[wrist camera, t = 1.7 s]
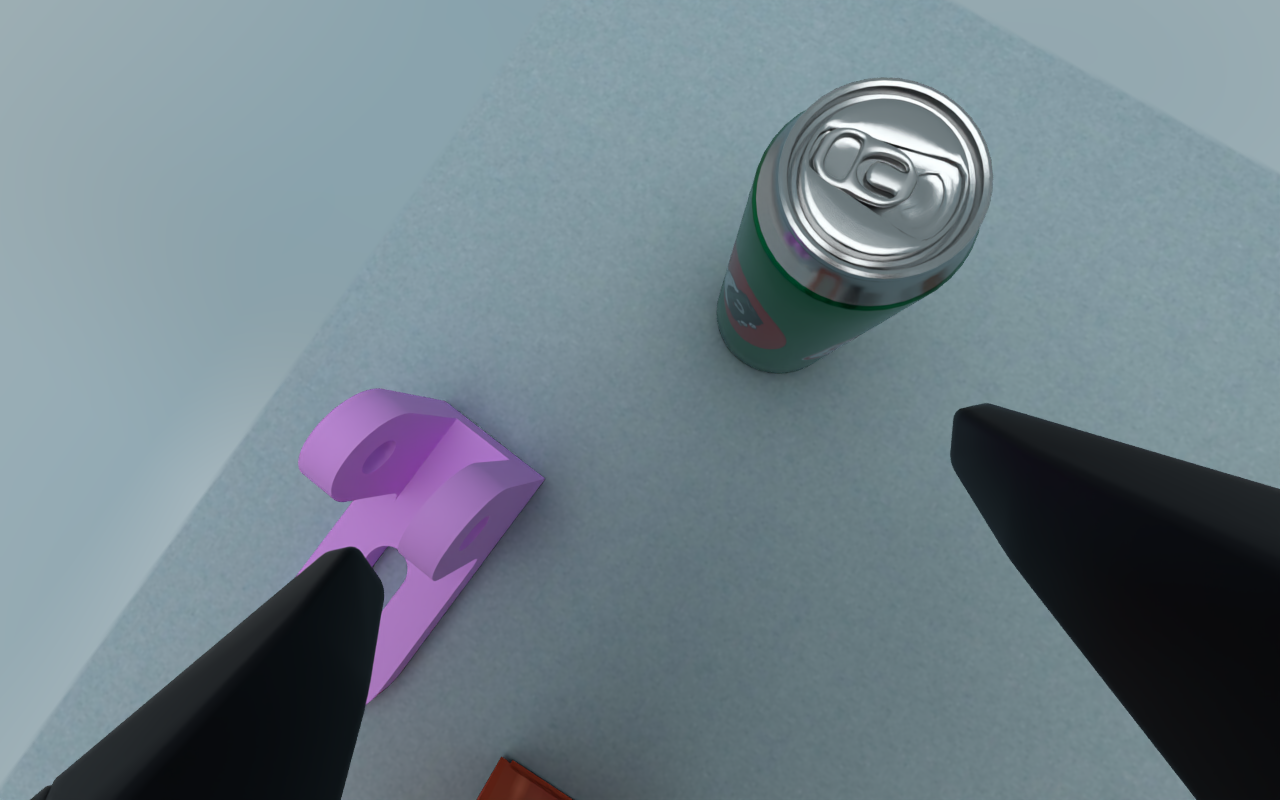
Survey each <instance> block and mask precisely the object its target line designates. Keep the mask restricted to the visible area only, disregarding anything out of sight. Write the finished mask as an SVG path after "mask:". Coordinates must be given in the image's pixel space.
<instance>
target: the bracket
mask: <svg viewBox="0 0 1280 800" xmlns="http://www.w3.org/2000/svg"><path fill="white" fill-rule="evenodd" d="M298 466H299V469H300V471H301V472H302V473H303V474H304V475H305V476H306V477H307V478H309V479H310V480H311V481H312V482H314V483H315V484H316V485H317V486H318V487H320V488H321V489H322V490H323V491H324V492H326V493H327V494H328V495H329V496H331V497H332V498H333V499H334V500H336V501H338V502H346V501H352V500H353V502H352V503H351V504H350V506H349V507H348V508H347V510H346V511H345V512H344V514H343V515H342V516H341V518H340V519H339V520H338V521H337V523H336V524H335V525H334V527H333V528H332V529H331V531H330V532H329V533H328V535H327V536H326V537H325V539H324V540H323V541H322V543H321V544H320V545H319V547H318V548H317V549H316V550H315V552H314V553H313V554H312V556H311V557H310V558H309V560H308V561H307V562H306V564H305V565H304V566H303V568H302V569H301V570H300V572H299V573H298V574H297V576H298V575H299V574H300V573H301V572H302V571H304V570H305V569H306V568H307V567H308V566H309V565H311V564H312V563H313V562H314V561H315V560H317V559H318V558H319V557H320V556H321V555H323V554H324V553H326V552H328V551H331V550H336V549H340V548H344V547H349V546H352V547H356V548H358V549H359V550H360V551H361V552H362V553H363V555H364V556H365V558H366V559H367V561H368V562H369V564H370V565H371V567H373V565H374V564H375V563H376V561H377V560H378V559H379V557H380V556H381V555H382V553H383V552H384V551H385V549H386V548H387V547H388V546H391V547H394V548H396V549H398V552H399V553H400V554H401V555H402V556H404V557H405V559H406V562H407V567H408V571H407V576H406V579H405V581H404V583H403V584H402V585H401V587H400V588H399V589H398V591H397V592H396V593H395V595H394V596H393V597H392V599H391V600H390V601H389V603H388V604H387V605H386V607H385V608H384V609H383V611H382V614H381V620H380V626H379V632H378V639H377V645H376V651H375V657H374V663H373V670H372V676H371V682H370V687H369V692H368V697H367V701H366V704H368V703H369V702H370V701H371V700H372V699H374V698H375V697H376V696H377V695H378V694H380V693H381V692H382V691H383V690H384V689H386V688H387V687H388V686H389V685H390V684H391V683H392V682H393V681H394V680H395V679H396V678H397V677H398V675H399V674H400V673H401V671H402V670H403V669H404V667H405V666H406V665H407V663H408V662H409V661H410V659H411V658H412V657H413V655H414V654H415V653H416V651H417V650H418V649H419V647H420V646H421V645H422V643H423V642H424V641H425V639H426V638H427V637H428V635H429V634H430V633H431V631H432V630H433V628H434V627H435V626H436V624H437V623H438V622H439V620H440V619H441V618H442V616H443V615H444V614H445V612H446V611H447V610H448V608H449V607H450V606H451V604H452V603H453V602H454V600H455V599H456V598H457V596H458V595H459V594H460V592H461V591H462V590H463V588H464V587H465V586H466V584H467V583H468V582H469V580H470V579H471V578H472V576H473V575H474V574H475V572H476V571H477V570H478V568H479V567H480V565H481V564H482V563H483V561H484V560H485V559H486V557H487V556H488V555H489V553H490V552H491V551H492V549H493V548H494V547H495V545H496V544H497V543H498V541H499V540H500V539H501V537H502V536H503V535H504V533H505V532H506V531H507V529H508V528H509V527H510V525H511V524H512V523H513V521H514V520H515V519H516V517H517V516H518V515H519V513H520V512H521V511H522V509H523V508H524V507H525V505H526V504H527V502H528V501H529V500H530V498H531V497H532V496H533V494H534V493H535V492H536V490H537V489H538V488H539V486H540V485H541V484H542V482H543V481H544V480H545V478H544V477H542V476H541V475H540V474H538V473H537V472H536V471H535V470H533V469H532V468H531V467H529V466H528V465H527V464H526V463H524V462H523V461H522V460H520V459H519V458H518V457H517V456H515V455H514V454H513V453H511V452H510V451H509V450H508V449H506V448H505V447H504V446H502V445H501V444H500V443H498V442H497V441H496V440H495V439H493V438H492V437H491V436H489V435H488V434H487V433H486V432H484V431H483V430H482V429H480V428H479V427H478V426H477V425H475V424H474V423H473V422H471V421H470V420H469V419H467V418H466V417H465V416H464V415H462V414H461V413H460V412H458V411H457V410H456V409H455V408H453V407H452V406H451V405H449V404H448V403H447V402H446V401H442V400H437V399H431V398H426V397H421V396H416V395H411V394H406V393H401V392H396V391H390V390H385V389H370V390H366V391H364V392H361V393H359V394H356V395H354V396H353V397H351V398H349V399H347V400H346V401H344V402H343V403H341V404H340V405H339V406H337V407H336V408H335V409H333V410H332V411H331V412H330V413H329V414H328V415H327V416H326V417H325V418H324V419H323V420H322V421H321V422H320V423H319V424H318V425H317V426H316V427H315V429H314V430H313V431H312V432H311V434H310V435H309V437H308V438H307V440H306V442H305V443H304V445H303V447H302V450H301V452H300V455H299V461H298Z"/></svg>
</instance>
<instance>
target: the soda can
mask: <svg viewBox="0 0 1280 800" xmlns="http://www.w3.org/2000/svg"><path fill="white" fill-rule="evenodd" d="M992 187H993V171H992V162H991V157H990V154H989V150H988V147H987V144H986V142H985V140H984V138H983V136H982V134H981V131H980V130H979V128H978V127H977V125H976V124H975V122H974V121H973V120H972V118H971V117H970V116H969V115H968V114H967V113H966V112H965V111H964V109H963V108H962V107H961V106H960V105H958V104H957V103H956V102H955V101H953V100H952V99H951V98H949V97H948V96H947V95H945V94H943V93H941V92H939V91H937V90H936V89H934V88H932V87H929V86H927V85H924V84H921V83H918V82H915V81H910V80H905V79H900V78H872V79H864V80H860V81H856V82H852V83H849V84H846V85H844V86H841V87H839V88H836V89H834V90H833V91H831V92H829V93H828V94H826V95H824V96H823V97H821V98H820V99H818V100H817V101H816V102H815V103H814V104H812V105H811V106H810V107H809V108H808V109H806V110H805V111H803V112H801V113H800V114H798V115H797V116H796V117H794V118H793V119H792V120H791V121H790V122H788V123H787V124H786V125H785V126H784V127H783V128H782V129H781V130H780V131H779V132H778V134H777V135H776V136H775V137H774V138H773V140H772V141H771V143H770V144H769V146H768V147H767V149H766V150H765V152H764V154H763V156H762V158H761V161H760V163H759V165H758V168H757V171H756V174H755V177H754V181H753V184H752V187H751V191H750V194H749V197H748V201H747V204H746V208H745V211H744V214H743V218H742V221H741V224H740V228H739V231H738V234H737V238H736V241H735V244H734V248H733V251H732V254H731V258H730V261H729V264H728V268H727V271H726V275H725V278H724V281H723V285H722V288H721V291H720V295H719V299H718V303H717V322H718V326H719V331H720V333H721V335H722V338H723V340H724V342H725V343H726V345H727V347H728V348H729V349H730V350H731V351H732V353H733V354H734V355H735V356H736V357H738V358H739V359H740V360H741V361H742V362H744V363H746V364H747V365H749V366H751V367H753V368H756V369H758V370H761V371H765V372H771V373H788V372H793V371H797V370H800V369H803V368H805V367H807V366H809V365H811V364H813V363H814V362H816V361H818V360H819V359H821V358H823V357H824V356H826V355H828V354H830V353H831V352H833V351H835V350H836V349H838V348H840V347H841V346H843V345H845V344H846V343H848V342H850V341H851V340H853V339H855V338H856V337H858V336H860V335H862V334H863V333H865V332H867V331H868V330H870V329H872V328H873V327H875V326H877V325H878V324H880V323H882V322H883V321H885V320H887V319H888V318H890V317H892V316H894V315H895V314H897V313H899V312H900V311H902V310H904V309H905V308H907V307H909V306H910V305H912V304H914V303H915V302H917V301H919V300H920V299H922V298H924V297H926V296H927V295H929V294H931V293H932V292H934V291H936V290H937V289H938V288H939V287H941V286H942V285H943V284H944V283H946V282H947V281H948V280H949V279H950V278H951V277H952V276H953V275H954V274H955V273H956V272H957V270H958V269H959V268H960V267H961V266H962V265H963V263H964V261H965V260H966V258H967V257H968V255H969V253H970V252H971V250H972V248H973V245H974V243H975V241H976V238H977V236H978V233H979V228H980V226H981V224H982V222H983V220H984V218H985V215H986V213H987V210H988V208H989V204H990V199H991V195H992Z"/></svg>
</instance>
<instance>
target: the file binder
mask: <svg viewBox="0 0 1280 800" xmlns="http://www.w3.org/2000/svg"><path fill="white" fill-rule="evenodd" d="M477 800H573V799H571V798H570V797H568V796H567V795H565V794H564V793H562V792H561V791H559V790H558V789H556V788H555V787H553V786H551V785H550V784H548V783H547V782H545V781H544V780H542V779H541V778H539V777H538V776H536V775H535V774H533V773H532V772H530V771H529V770H527V769H526V768H524V767H523V766H521V765H520V764H518V763H516V762H515V761H513V760H512V762H511V763H509V762H508V761H507V760H506V759H504V758H503V757H501V758H500V760H499V762H498V763H497V765H496V767H495V769H494V770H493V772H492V774H491V775H490V777H489V779H488V781H487V782H486V784H485V786H484V788H483V789H482V791H481V793H480V795H479V796H478V798H477Z"/></svg>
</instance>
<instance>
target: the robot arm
mask: <svg viewBox="0 0 1280 800" xmlns="http://www.w3.org/2000/svg"><path fill="white" fill-rule="evenodd" d="M950 457H951V463H952V466H953V468H954V471H955V472H956V474H957V476H958V477H959V479H960V481H961V482H962V484H963V485H964V487H965V489H966V490H967V492H968V493H969V495H970V497H971V498H972V500H973V502H974V503H975V505H976V506H977V508H978V510H979V511H980V513H981V514H982V516H983V518H984V519H985V521H986V523H987V524H988V526H989V527H990V529H991V531H992V532H993V534H994V535H995V537H996V539H997V540H998V542H999V544H1000V545H1001V547H1002V548H1003V550H1004V551H1005V553H1006V554H1007V556H1008V557H1009V559H1010V560H1011V562H1012V563H1013V564H1014V566H1015V567H1016V568H1017V570H1018V571H1019V572H1020V574H1021V575H1022V576H1023V578H1024V579H1025V580H1026V581H1027V583H1028V584H1029V585H1030V587H1031V588H1032V589H1033V590H1034V592H1035V593H1036V594H1037V596H1038V597H1039V598H1040V599H1041V601H1042V602H1043V603H1044V605H1045V606H1046V607H1047V608H1048V610H1049V611H1050V612H1051V614H1052V615H1053V616H1054V617H1055V619H1056V620H1057V621H1058V623H1059V624H1060V625H1061V626H1062V628H1063V629H1064V630H1065V631H1066V633H1067V634H1068V635H1069V637H1070V638H1071V639H1072V640H1073V642H1074V643H1075V644H1076V646H1077V647H1078V648H1079V649H1080V651H1081V652H1082V653H1083V655H1084V656H1085V657H1086V658H1087V660H1088V661H1089V662H1090V664H1091V665H1092V666H1093V667H1094V669H1095V670H1096V671H1097V673H1098V674H1099V675H1100V676H1101V678H1102V679H1103V680H1104V682H1105V683H1106V684H1107V685H1108V687H1109V688H1110V689H1111V691H1112V692H1113V693H1114V694H1115V696H1116V697H1117V698H1118V700H1119V701H1120V702H1121V703H1122V705H1123V706H1124V707H1125V709H1126V710H1127V711H1128V712H1129V714H1130V715H1131V716H1132V717H1133V719H1134V720H1135V721H1136V723H1137V724H1138V725H1139V726H1140V728H1141V729H1142V730H1143V732H1144V733H1145V734H1146V735H1147V737H1148V738H1149V739H1150V741H1151V742H1152V743H1153V744H1154V746H1155V747H1156V748H1157V750H1158V751H1159V752H1160V753H1161V755H1162V756H1163V757H1164V759H1165V760H1166V761H1167V762H1168V764H1169V765H1170V766H1171V768H1172V769H1173V770H1174V771H1175V773H1176V774H1177V775H1178V777H1179V778H1180V779H1181V780H1182V782H1183V783H1184V784H1185V786H1186V787H1187V788H1188V789H1189V791H1190V792H1191V793H1192V795H1193V796H1194V797H1195V798H1196V800H1280V489H1278V488H1274V487H1271V486H1268V485H1264V484H1261V483H1257V482H1254V481H1251V480H1247V479H1244V478H1240V477H1237V476H1234V475H1230V474H1227V473H1223V472H1220V471H1217V470H1213V469H1210V468H1206V467H1203V466H1200V465H1196V464H1193V463H1190V462H1186V461H1183V460H1179V459H1176V458H1173V457H1169V456H1166V455H1162V454H1159V453H1156V452H1152V451H1149V450H1145V449H1142V448H1139V447H1135V446H1132V445H1128V444H1125V443H1122V442H1118V441H1115V440H1111V439H1108V438H1105V437H1101V436H1098V435H1094V434H1091V433H1088V432H1084V431H1081V430H1078V429H1074V428H1071V427H1067V426H1064V425H1061V424H1057V423H1054V422H1050V421H1047V420H1044V419H1040V418H1037V417H1033V416H1030V415H1027V414H1023V413H1020V412H1016V411H1013V410H1010V409H1006V408H1003V407H1000V406H996V405H993V404H988V403H984V404H979V405H974V406H970V407H966V408H961V409H959V410H958V411H957V412H956V413H955V415H954V419H953V429H952V440H951V452H950ZM383 601H384V588H383V585H382V582H381V580H380V578H379V577H378V575H377V574H376V572H375V571H374V570H373V568H372V567H371V565H370V564H369V562H368V561H367V559H366V558H365V556H364V555H363V553H362V552H361V551H360V550H359V549H358V548H356V547H352V546H349V547H344V548H340V549H336V550H331V551H328V552H326V553H324V554H323V555H321V556H320V557H319V558H318V559H317V560H315V561H314V562H313V563H312V564H311V565H309V566H308V567H307V568H306V569H305V570H304V571H302V572H301V573H300V574H299V575H298V576H296V577H295V578H294V579H293V580H292V581H290V582H289V583H288V584H287V585H286V586H284V587H283V588H282V589H281V590H280V591H279V592H277V593H276V594H275V595H274V596H273V597H271V598H270V599H269V600H268V601H267V602H265V603H264V604H263V605H262V606H261V607H259V608H258V609H257V610H256V611H255V612H253V613H252V614H251V615H250V616H249V617H248V618H246V619H245V620H244V621H243V622H242V623H240V624H239V625H238V626H237V627H236V628H234V629H233V630H232V631H231V632H230V633H228V634H227V635H226V636H225V637H224V638H223V639H221V640H220V641H219V642H218V643H217V644H215V645H214V646H213V647H212V648H211V649H209V650H208V651H207V652H206V653H205V654H203V655H202V656H201V657H200V658H199V659H198V660H196V661H195V662H194V663H193V664H192V665H190V666H189V667H188V668H187V669H186V670H184V671H183V672H182V673H181V674H180V675H178V676H177V677H176V678H175V679H174V680H172V681H171V682H170V683H169V684H168V685H167V686H165V687H164V688H163V689H162V690H161V691H159V692H158V693H157V694H156V695H155V696H153V697H152V698H151V699H150V700H149V701H147V702H146V703H145V704H144V705H143V706H142V707H140V708H139V709H138V710H137V711H136V712H134V713H133V714H132V715H131V716H130V717H128V718H127V719H126V720H125V721H124V722H122V723H121V724H120V725H119V726H118V727H116V728H115V729H114V730H113V731H112V732H111V733H109V734H108V735H107V736H106V737H105V738H103V739H102V740H101V741H100V742H99V743H97V744H96V745H95V746H94V747H93V748H91V749H90V750H89V751H88V752H87V753H86V754H84V755H83V756H82V757H81V758H80V759H78V760H77V761H76V762H75V763H74V764H72V765H71V766H70V767H69V768H68V769H66V770H65V771H64V772H63V773H62V774H61V775H59V776H58V777H57V778H56V779H55V780H54V782H53V784H52V785H50V786H47V787H45V788H44V789H42V790H41V791H40V792H39V793H38V794H36V795H35V796H34V797H33V798H32V799H30V800H341V797H342V793H343V789H344V786H345V782H346V778H347V774H348V770H349V767H350V763H351V759H352V755H353V752H354V748H355V744H356V740H357V736H358V733H359V729H360V725H361V721H362V718H363V714H364V710H365V705H366V701H367V697H368V692H369V687H370V682H371V676H372V670H373V663H374V657H375V651H376V645H377V639H378V632H379V626H380V620H381V614H382V607H383Z"/></svg>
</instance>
